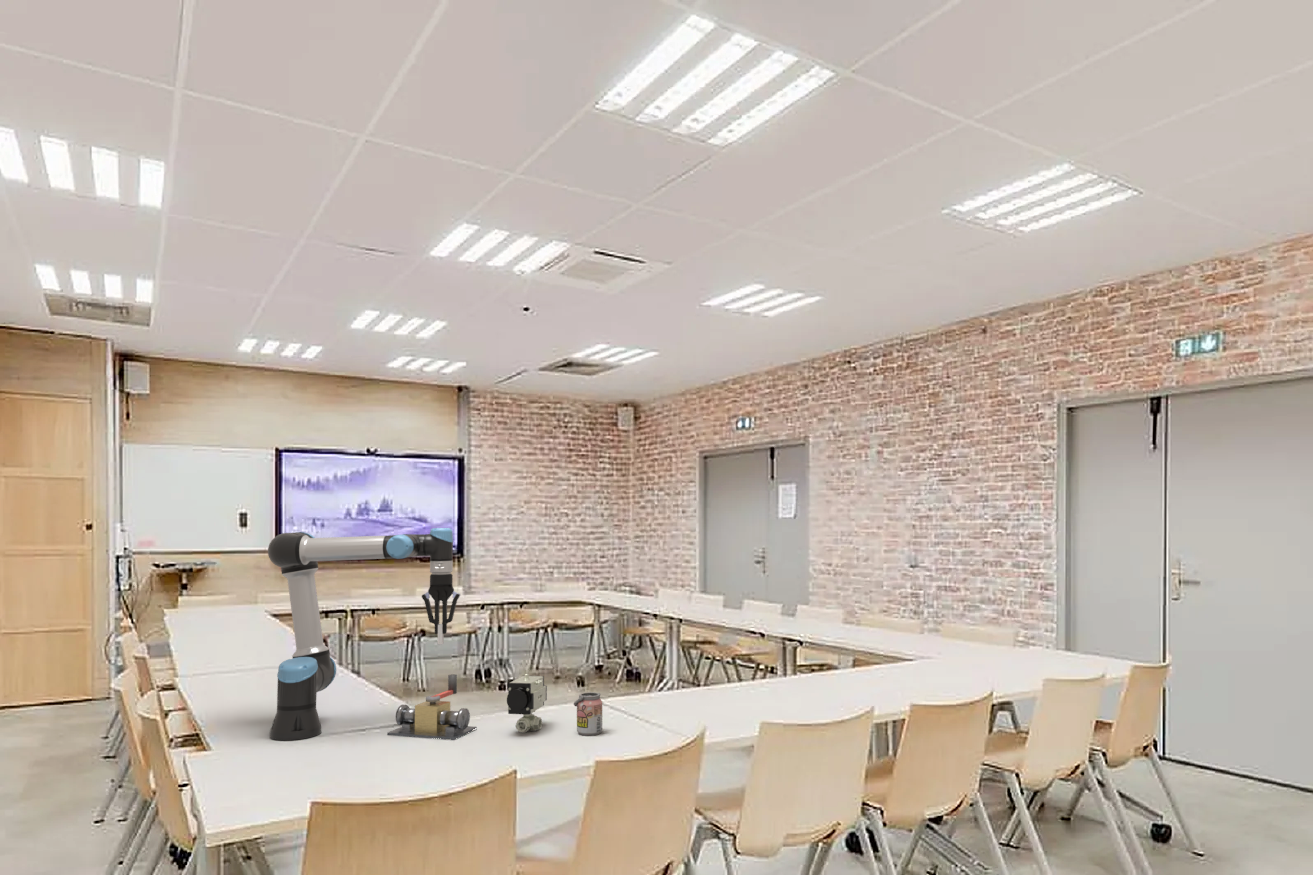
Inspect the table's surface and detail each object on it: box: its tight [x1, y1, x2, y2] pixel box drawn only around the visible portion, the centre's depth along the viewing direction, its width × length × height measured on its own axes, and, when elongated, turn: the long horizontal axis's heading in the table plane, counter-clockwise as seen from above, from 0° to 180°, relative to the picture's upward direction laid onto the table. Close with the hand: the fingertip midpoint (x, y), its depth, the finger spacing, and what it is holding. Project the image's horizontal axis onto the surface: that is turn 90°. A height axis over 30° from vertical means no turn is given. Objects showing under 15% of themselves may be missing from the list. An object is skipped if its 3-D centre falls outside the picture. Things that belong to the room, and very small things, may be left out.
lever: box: [425, 673, 458, 702], centre depth 280 cm, size 16×4×6 cm, turn 163°
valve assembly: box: [386, 700, 478, 741], centre depth 274 cm, size 24×14×10 cm, turn 73°
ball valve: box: [506, 673, 548, 734], centre depth 275 cm, size 18×8×18 cm, turn 168°
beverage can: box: [573, 691, 603, 737], centre depth 271 cm, size 9×8×12 cm
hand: (440, 643), depth 289 cm, fingers closed
